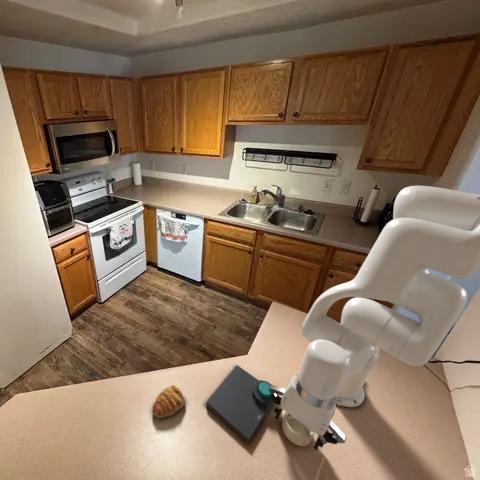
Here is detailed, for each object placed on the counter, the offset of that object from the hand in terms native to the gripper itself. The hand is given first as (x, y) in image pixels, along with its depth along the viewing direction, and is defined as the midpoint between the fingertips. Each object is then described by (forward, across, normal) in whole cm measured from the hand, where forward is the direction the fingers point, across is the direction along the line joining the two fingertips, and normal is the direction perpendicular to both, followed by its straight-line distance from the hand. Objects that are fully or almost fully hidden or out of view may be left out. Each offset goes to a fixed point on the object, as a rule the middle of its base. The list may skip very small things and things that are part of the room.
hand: (296, 428), depth 66 cm
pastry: (+2, +28, +18) cm, 33 cm away
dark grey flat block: (+2, +14, +3) cm, 14 cm away
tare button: (-1, +10, -2) cm, 10 cm away
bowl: (+2, 0, 0) cm, 2 cm away
